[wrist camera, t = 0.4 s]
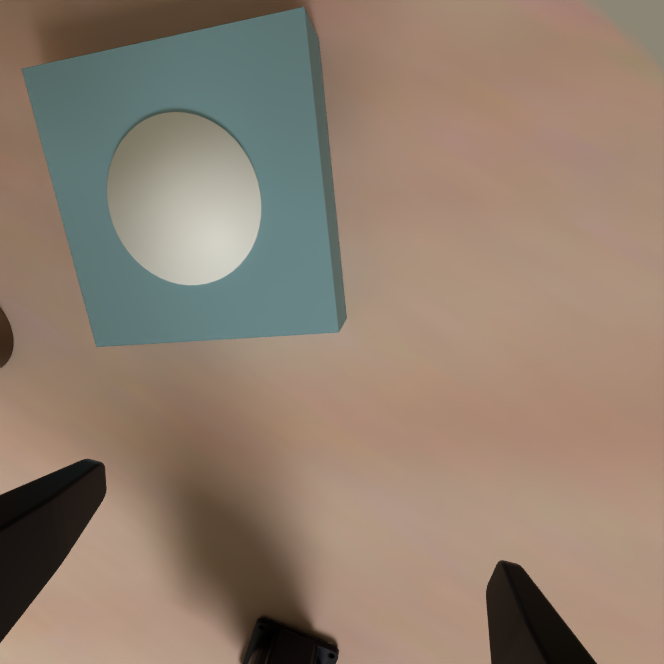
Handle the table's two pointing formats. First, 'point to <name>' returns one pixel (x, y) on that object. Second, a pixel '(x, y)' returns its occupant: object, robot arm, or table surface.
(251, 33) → the plinth
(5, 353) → the walnut post
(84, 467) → the robot arm
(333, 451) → the table surface
